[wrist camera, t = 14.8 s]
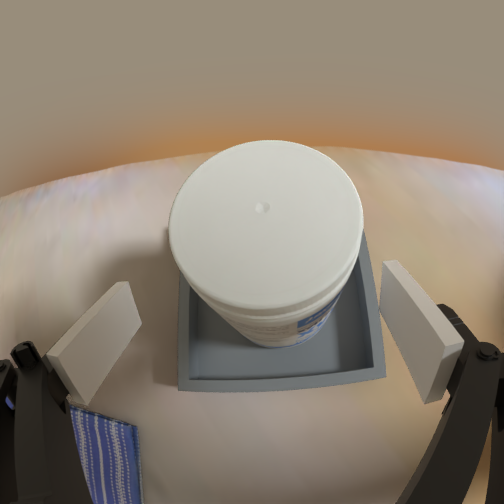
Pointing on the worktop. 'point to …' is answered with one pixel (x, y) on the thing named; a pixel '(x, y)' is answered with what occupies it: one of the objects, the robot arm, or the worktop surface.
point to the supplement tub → (268, 238)
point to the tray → (284, 359)
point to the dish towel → (108, 457)
